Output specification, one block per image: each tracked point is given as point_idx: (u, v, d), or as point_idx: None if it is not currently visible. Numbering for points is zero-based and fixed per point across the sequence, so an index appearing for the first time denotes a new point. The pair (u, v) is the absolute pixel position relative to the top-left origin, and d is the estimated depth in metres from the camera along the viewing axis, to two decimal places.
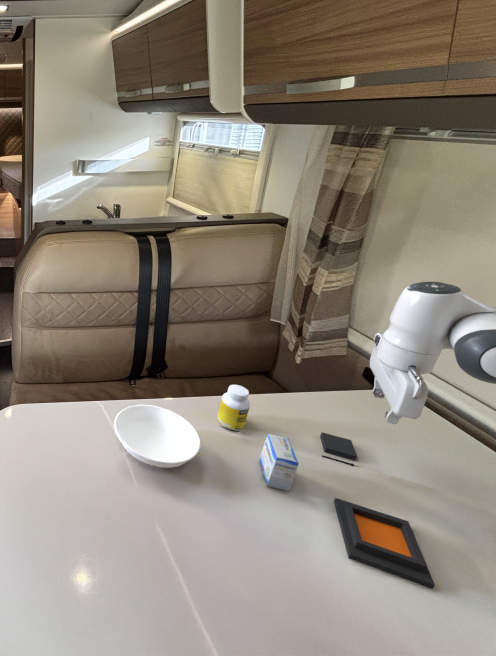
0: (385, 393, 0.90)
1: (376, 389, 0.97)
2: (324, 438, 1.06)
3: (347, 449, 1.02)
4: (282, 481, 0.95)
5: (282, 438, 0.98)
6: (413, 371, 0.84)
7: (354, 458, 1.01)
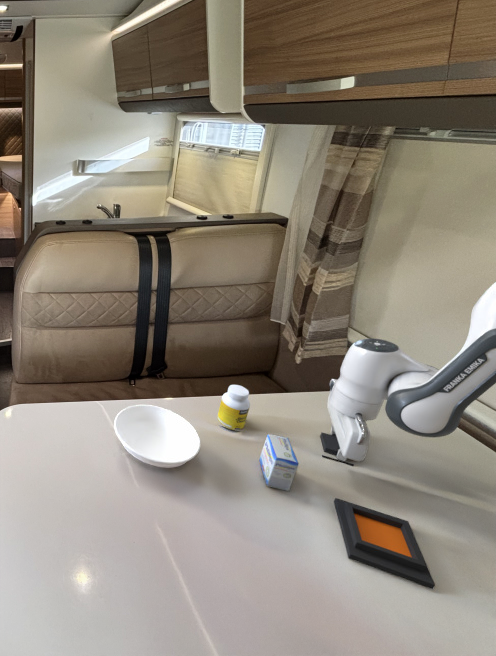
0: (337, 435, 1.01)
1: (333, 432, 1.07)
2: (324, 438, 1.06)
3: None
4: (282, 481, 0.95)
5: (282, 438, 0.98)
6: (358, 419, 0.94)
7: None
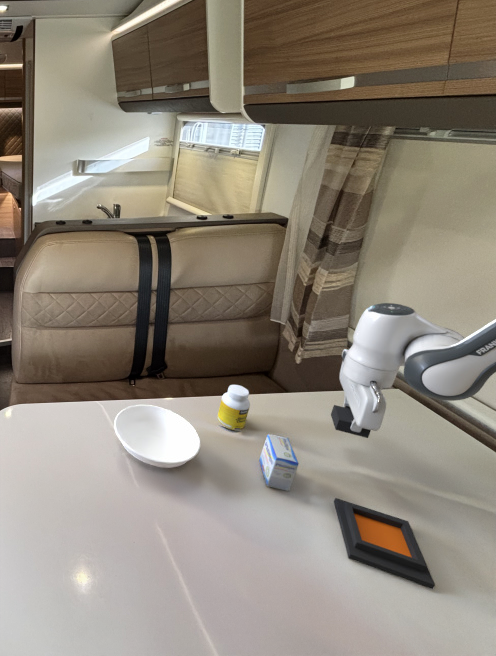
0: (350, 406, 0.97)
1: (346, 404, 1.03)
2: (337, 410, 1.02)
3: None
4: (282, 481, 0.95)
5: (282, 438, 0.98)
6: (373, 386, 0.91)
7: None
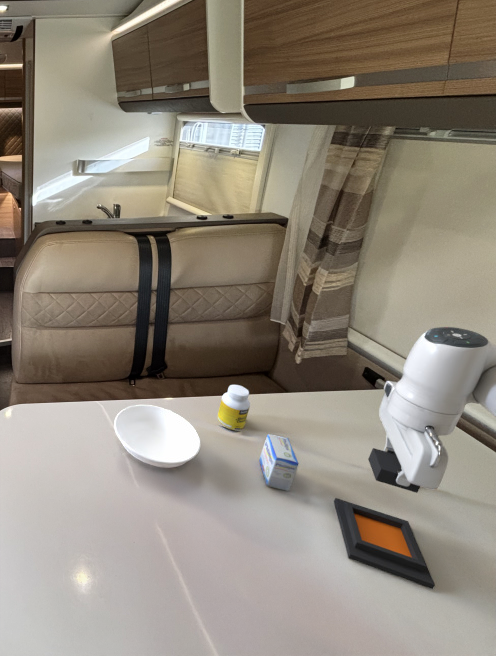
0: (397, 454, 0.78)
1: (388, 448, 0.84)
2: (377, 456, 0.83)
3: None
4: (282, 481, 0.95)
5: (282, 438, 0.98)
6: (430, 433, 0.72)
7: None
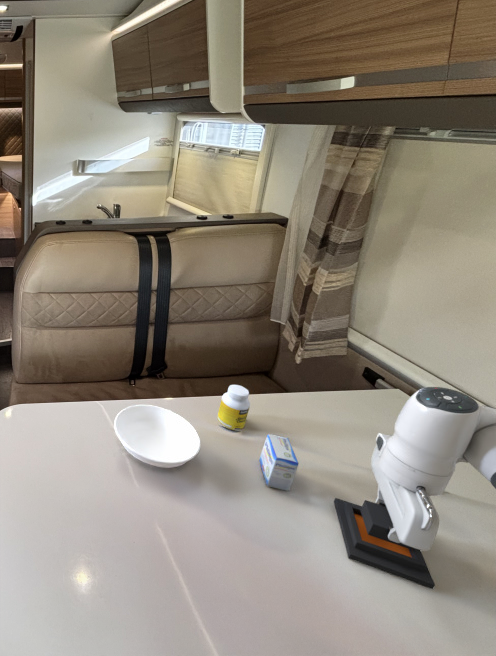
0: (389, 510, 0.79)
1: (380, 500, 0.85)
2: (369, 509, 0.83)
3: None
4: (282, 481, 0.95)
5: (282, 438, 0.98)
6: (421, 495, 0.72)
7: None
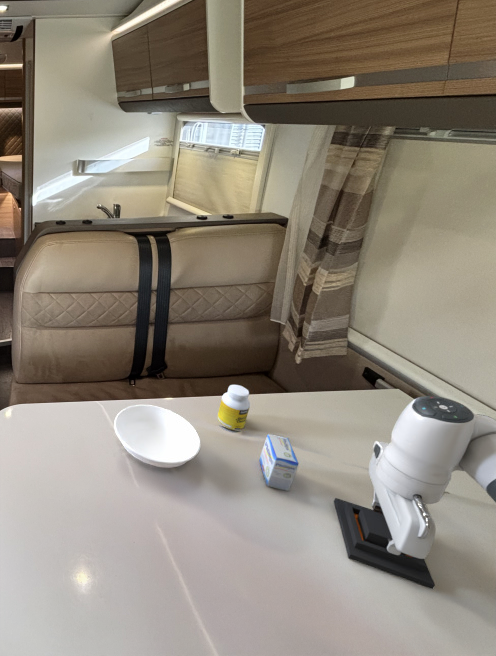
0: (386, 518, 0.79)
1: (376, 503, 0.86)
2: (366, 517, 0.84)
3: None
4: (282, 481, 0.95)
5: (282, 438, 0.98)
6: (418, 503, 0.73)
7: None
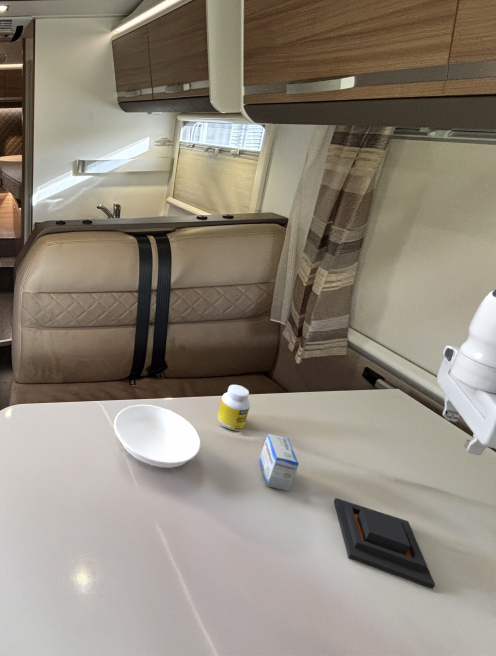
0: (465, 418, 0.76)
1: (448, 411, 0.83)
2: (366, 517, 0.84)
3: (396, 535, 0.81)
4: (282, 481, 0.95)
5: (282, 438, 0.98)
6: None
7: (407, 547, 0.79)
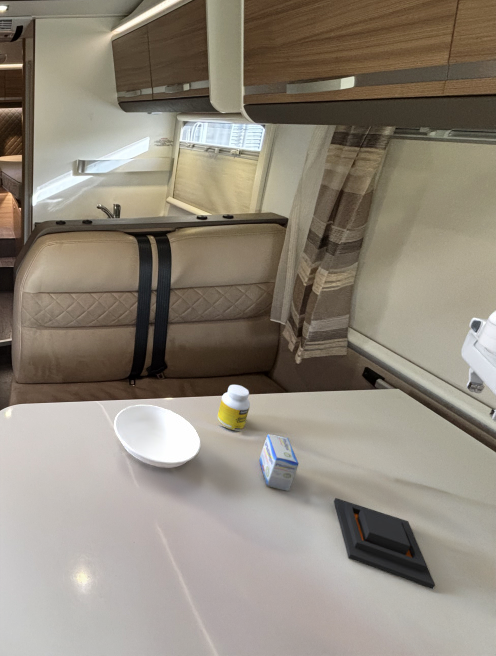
0: (491, 387, 0.77)
1: (472, 383, 0.84)
2: (366, 517, 0.84)
3: (396, 535, 0.81)
4: (282, 481, 0.95)
5: (282, 438, 0.98)
6: None
7: (407, 547, 0.79)
